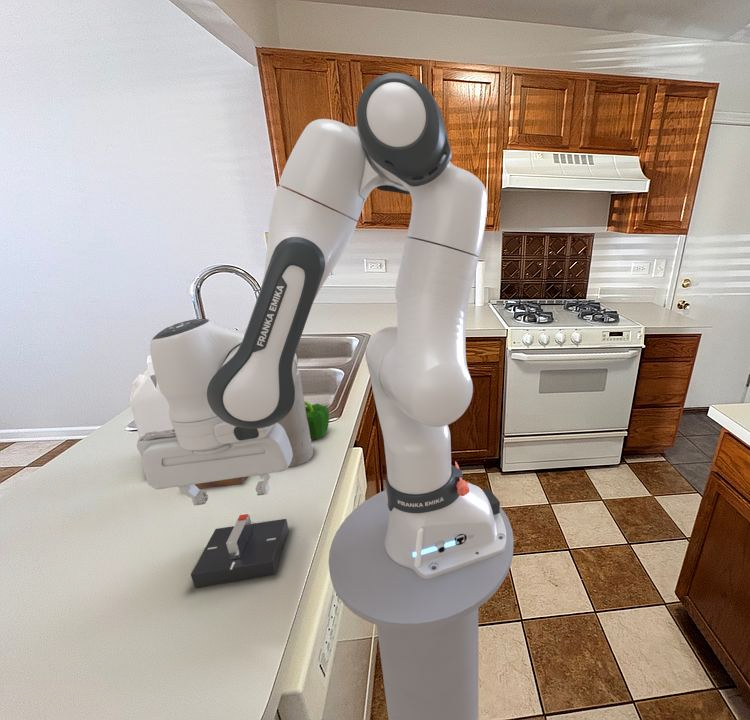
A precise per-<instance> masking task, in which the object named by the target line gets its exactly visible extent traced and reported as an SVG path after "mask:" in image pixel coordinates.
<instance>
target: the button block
mask: <svg viewBox="0 0 750 720" xmlns="http://www.w3.org/2000/svg"><path fill="white" fill-rule="evenodd" d="M246 478H247V477H240V478H233V479H226V480H219V481H213V482H206V483H199V484H194V485H195V486H196V487H198V488H199V489H206V488H214V487H222V486H230V485H231V486H232V485H239V484H243V483H244V481H245V480H246Z"/></svg>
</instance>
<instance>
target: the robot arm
mask: <svg viewBox="0 0 750 720" xmlns="http://www.w3.org/2000/svg"><path fill="white" fill-rule="evenodd" d="M441 110H442V109H441V108H440V105H439V104H438V102H437V100H436V98H435V97H434V96H433V93H431V91H430V90H429V89H428V87H426V86H425V84H424V83H422V82H421V81H420V80H418V79H417V78H415V77H413V76H412V75H409V74H406V73H402V72H389V73H388V72H387V73H384V74H381V75H379V76H377V77H375V78H374V79H372V80H371V81H370V82H369V83H368V84H367V85H366V86H365V88H364V89H363V91H362V92H361V94H360V97H359V99H358V103H357V105H356V113H355V117H356V118H355V119H356V120H355V121H356V122H355V123H356V126H351V125H347V124H345V123H344V122H341V121H338V120H335V119H329V118H318V119H315V120H312V121H310V122H309V123H308V124H307V125H306V126H305V128H304V129H303V131H302V132H301V134H300V136H299V138H298V139H297V141H296V142H295V145H294V147H293V148H292V151H291V153H290V155H289V157H288V158H287V161H286V163H285V165H284V167H283V168H284V169H283V170H282V173H281V176H280V179H279V182H278V185H277V188H276V190H275V193H274V198H273V202H272V206H271V211H270V216H269V223H268V231H267V241H266V253H265V264H264V265H265V266H264V271H263V272H264V273H263V278H262V282H261V287H260V289H259V292H258V296H257V298H256V301H255V304H254V306H253V310H252V313H251V315H250V318H249V321H248V323H247V327H246V329H245V331H243V330H239V329H234V328H230V327H227V326H224V325H221V324H219V323H216V322H215V321H213V320H212V319H208V318H193V319H189V320H184V321H181V322H178V323H175V324H172V325H170V326H167V327H165V328H164V329H162V330H160V331H159V332H158V333H157V334H156V335H154V336H153V337H152V339H151V340H150V343H149V353H150V355H151V360H152V364H153V369H154V372H155V376H156V379H157V383H158V386H159V389H160V391H161V393H162V394H163V395H164V396H165V398H166V399H167V401H168V404H169V417H170V420H171V423H172V426H173V428H174V429H171V430H165V431H160V432H148V433H146V434H145V436H142V437H141V438H140V437H139V438H138V440H137V442H136V448H137V450H138V452H139V455H140V456H141V457H142V464H143V470H144V471H143V472H144V475H145V479H146V483H147V485H148V486H149V487H151V488H152V489H154V490H165V489H171V488H172V489H173V488H177V487H178V489H179V492H181V493H182V494H184V495H185V496H187V497H188V498H189V499H191V501H192V503H193V504H192V505H193V506H201V505H206V503H207V501H208V500H209V494H207V493H208V491H207V489H201V488H198V487H196V486H195V485H194V484H199V483H206V482H213V481H219V480H226V479H233V478H240V477H246V478H247V477H252V476H258V477H259V479H260V481H258V482H257V484H256V486H255V492H256V496H265V495H268V494H269V492H270V489H271V487H270V483H269V479H270V478H271V476H272V474H274V473H281V472H285V471H286V470H287V469H288V468H289V467H290V466H289V465H290V463H291V461H292V457H293V453H292V448H291V445H290V442H289V439H288V436H287V434H286V432H285V430H284V428H283V427H282V426H281V425H280V424H279V423H278V422H279V421H281V420H282V419H283V418H285V417H286V416H287V414H288V413H289V412H290V410H291V409H292V407H293V404H294V399H295V379H296V372H297V369H298V364H299V363H298V360H299V359H298V354H297V349H298V348H299V347H298V346H299V344H300V341H301V338H302V335H303V332H304V329H305V327H306V323H307V321H308V318H309V315H310V312H311V309H312V306H313V304H314V303H315V300H316V298H317V296H318V294H319V292H320V290H321V289H322V287H323V286H324V284H325V282H326V281H327V280H328V278H329V276H330V275H331V273H332V271H333V270H334V268H335V267H336V265H337V264H338V263H339V261H340V259H341V257H342V256H343V254H344V253H345V251H346V249H347V247H348V245H349V243H350V241H351V239H352V237H353V235H354V233H355V231H356V229H357V224H358V222H359V219H360V217H361V213H362V211H363V208H364V205H365V203H366V200H367V198H368V197H369V196H370V194H371V193H372V191H373V190H374V189H378V190H379V191H383V192H390V193H397V194H403V195H410V198H411V214H410V219H409V224H408V229H407V233H406V238H405V241H404V247H403V251H402V256H401V260H400V265H399V269H398V274H397V278H396V282H395V288H394V294H395V299H396V307H397V326H387V327H383V328H381V329H379V330H378V331H377V332H375V333H374V334H373V335H372V336H371V337H370V339H369V340H368V342H367V344H366V347H365V360H366V365H367V368H368V373H369V378H370V384H371V388H372V394H373V398H374V403H375V407H376V413H377V417H378V421H379V424H380V425H379V426H380V429H381V434H382V438H383V446H384V454H385V466H386V474H385V481H384V490H385V491H386V500H387V504H388V508H389V520H388V528H387V532H386V536H385V541H384V544H385V549H386V552H387V554H388V555H389V557H390V558H391V559H392V560H393V561H395V562H396V563H398V564H399V565H402V566H404V567H407V568H410V569H412V570H413V571H414V572H415V573H416V574H417V575H418V576H420V577H421V578H422V579H425V580H428V579H432V578H435V577H437V576H440V575H443V574H446V573H449V572H452V571H454V570H457V569H460V568H463V567H466V566H468V565H471V564H474V563H477V562H480V561H483V560H485V559H488V558H491V557H494V556H497V555H499V554H502V553H503V552H504V550H505V547H506V541H507V538H506V529H505V525H504V522H503V519H502V517H501V515H500V507H501V501H499V499H498V498H497V496H496V495H495V494H494V492H493V491H492V490H491V489H490V488H489V487H487V488H485V489H481V487H480V486H478V485H475V484H473V483H471V482H469V481H466V480H465V479H464V474H463V470H461V469H460V466H459V464H458V462H457V461H456V460H455V461H454V464H455V465H453V464H452V445H451V443H452V442H451V440H452V439H451V438H452V437H451V431H450V427H449V425H451V424H452V423H455V422H456V421H458V420H459V419H460V418H461V417H462V416H463V415H464V413H465V412H466V411H467V410H468V408H469V406H470V404H471V402H472V399H473V394H474V384H473V379H472V378H471V375H470V371H469V367H468V363H467V362H468V361H467V353H466V351H467V348H466V346H467V345H466V342H467V341H466V339H467V338H466V336H467V335H466V331H467V330H466V329H467V328H466V327H467V312H468V306H469V302H470V301H469V300H470V297H471V296H470V295H471V292H472V287H473V283H474V279H475V277H476V276H475V275H476V271H477V267H478V263H479V259H480V255H481V250H482V247H483V242H484V238H485V237H484V236H485V230H486V223H487V214H488V213H487V212H488V200H489V199H488V192H487V189H486V186H485V184H484V183H483V182H482V180H481V179H480V178H478V176H476V175H475V174H473V173H472V172H470V171H469V170H467V169H464V168H461V167H458V166H456V165H454V164H453V163H452V162H451V160H452V156H453V152H452V149H451V144H450V142H449V136H448V133H447V128H446V125H445V119H444V116H443V113H442V111H441ZM144 438H145V439H144ZM432 569H435V570H432Z"/></svg>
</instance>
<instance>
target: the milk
mask: <svg viewBox="0 0 750 720" xmlns="http://www.w3.org/2000/svg"><path fill="white" fill-rule="evenodd" d="M146 366H147V369H145V371H144V372H143V373H142V374H141V373H138V375H137V376H136V377H135V378H134V380H133V381H132V383H131V385H132V387H131V389H130V396H129V405H130V410H131V413H132V417H133V420H134V423H135V424H134V425H135V427H136V431H137V434H138V437H139V438H141V437H142V436H145V434H146V433H148V432H160V431H165V430H171V429H174V428H173V426H172V423H171V420H170V417H169V404H168V401H167V399H166V398H165V396H164V395H163V394H162V393H161V391H160V389H159V386H158V383H157V379H156V376H155V372H154V369H153V364H152V360H151V354H150V355H147V358H146ZM144 439H145V438H144Z"/></svg>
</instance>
